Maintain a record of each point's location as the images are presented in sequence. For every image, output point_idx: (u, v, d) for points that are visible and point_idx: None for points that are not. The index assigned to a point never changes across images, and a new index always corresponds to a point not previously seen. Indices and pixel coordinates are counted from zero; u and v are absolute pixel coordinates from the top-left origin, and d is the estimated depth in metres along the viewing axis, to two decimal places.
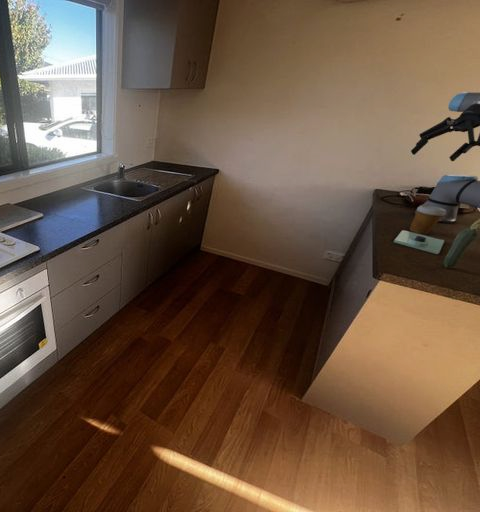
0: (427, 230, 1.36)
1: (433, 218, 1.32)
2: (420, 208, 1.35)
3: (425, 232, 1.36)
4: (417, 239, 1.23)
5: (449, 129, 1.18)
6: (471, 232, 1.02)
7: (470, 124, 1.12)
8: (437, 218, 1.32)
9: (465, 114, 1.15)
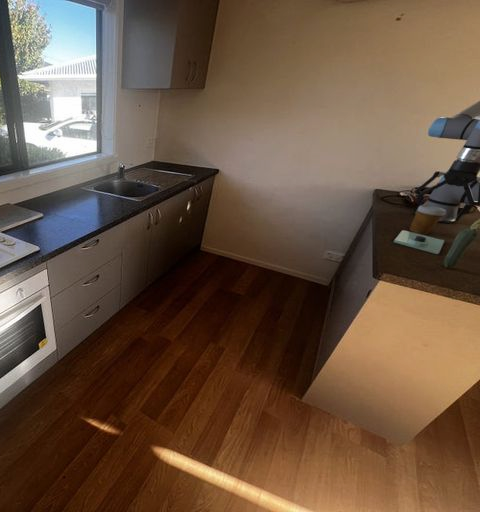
0: (427, 230, 1.36)
1: (433, 218, 1.32)
2: (420, 208, 1.35)
3: (425, 232, 1.36)
4: (417, 239, 1.23)
5: (444, 184, 1.14)
6: (471, 232, 1.02)
7: (466, 183, 1.09)
8: (437, 218, 1.32)
9: (456, 171, 1.09)
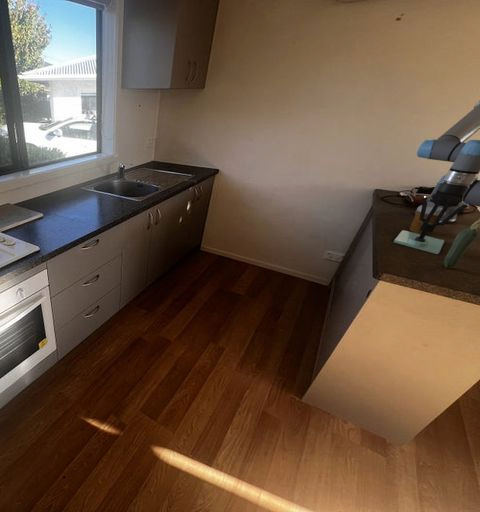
0: None
1: (433, 218, 1.32)
2: (420, 208, 1.35)
3: None
4: (416, 240, 1.24)
5: (438, 206, 1.17)
6: (471, 232, 1.02)
7: (448, 205, 1.14)
8: None
9: (443, 192, 1.13)
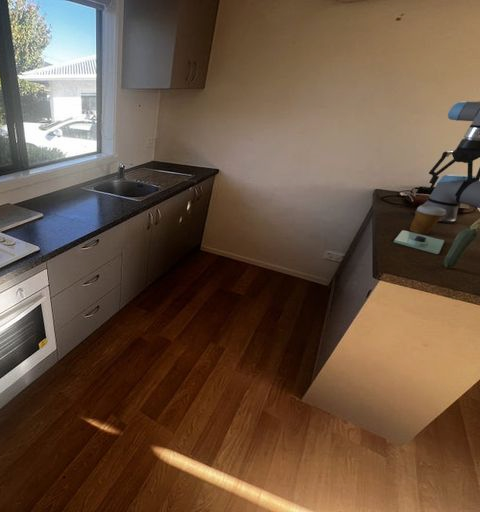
0: (427, 230, 1.36)
1: (433, 218, 1.32)
2: (420, 208, 1.35)
3: (425, 232, 1.36)
4: (417, 239, 1.23)
5: None
6: (471, 232, 1.02)
7: (471, 160, 1.20)
8: (437, 218, 1.32)
9: (463, 148, 1.21)
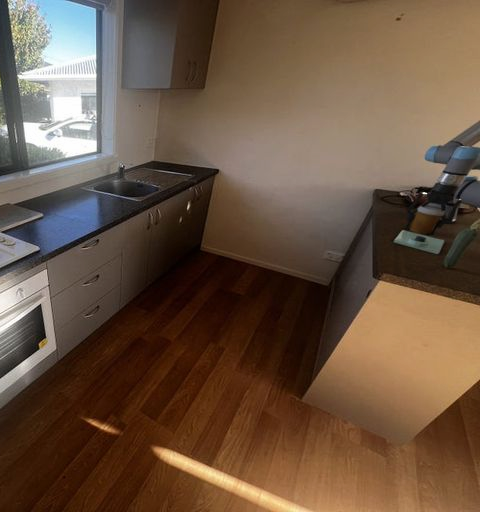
0: (427, 230, 1.36)
1: (433, 218, 1.32)
2: (420, 208, 1.35)
3: (425, 232, 1.36)
4: (417, 239, 1.23)
5: (428, 203, 1.34)
6: (471, 232, 1.02)
7: (444, 202, 1.29)
8: (437, 218, 1.32)
9: (437, 192, 1.30)
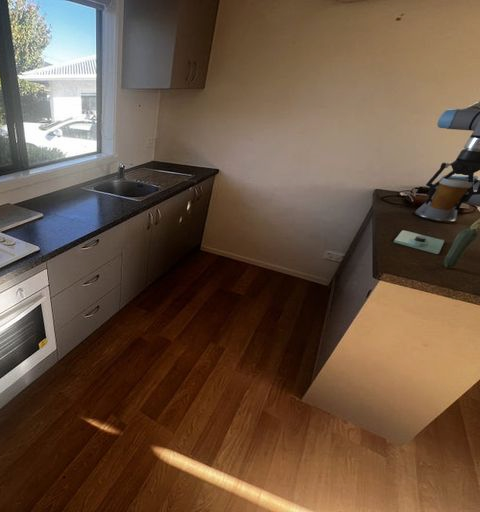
0: (451, 205, 1.19)
1: (459, 191, 1.15)
2: (443, 180, 1.18)
3: (448, 208, 1.19)
4: (417, 239, 1.23)
5: None
6: (471, 232, 1.02)
7: (471, 172, 1.12)
8: (463, 191, 1.15)
9: None
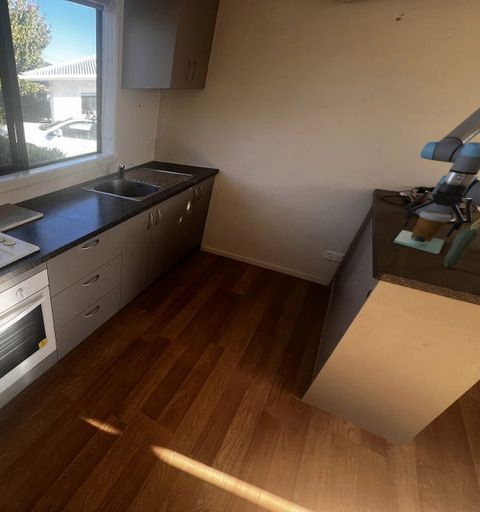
0: (430, 237, 1.26)
1: (437, 225, 1.22)
2: (423, 213, 1.25)
3: (428, 239, 1.26)
4: (417, 239, 1.23)
5: None
6: (471, 232, 1.02)
7: (453, 203, 1.18)
8: (441, 224, 1.22)
9: (443, 192, 1.19)
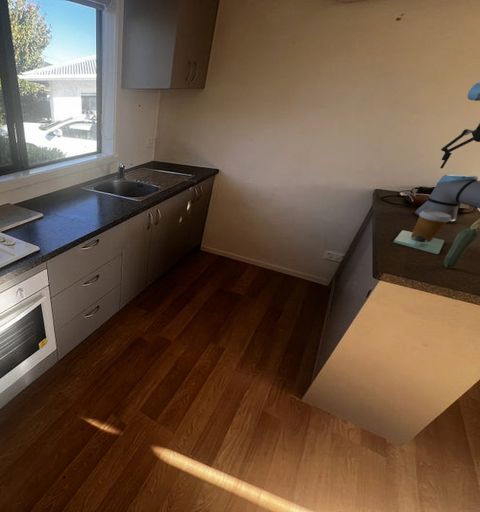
0: (430, 237, 1.26)
1: (437, 225, 1.22)
2: (423, 213, 1.25)
3: (428, 239, 1.26)
4: (417, 239, 1.23)
5: None
6: (471, 232, 1.02)
7: None
8: (441, 224, 1.22)
9: None
